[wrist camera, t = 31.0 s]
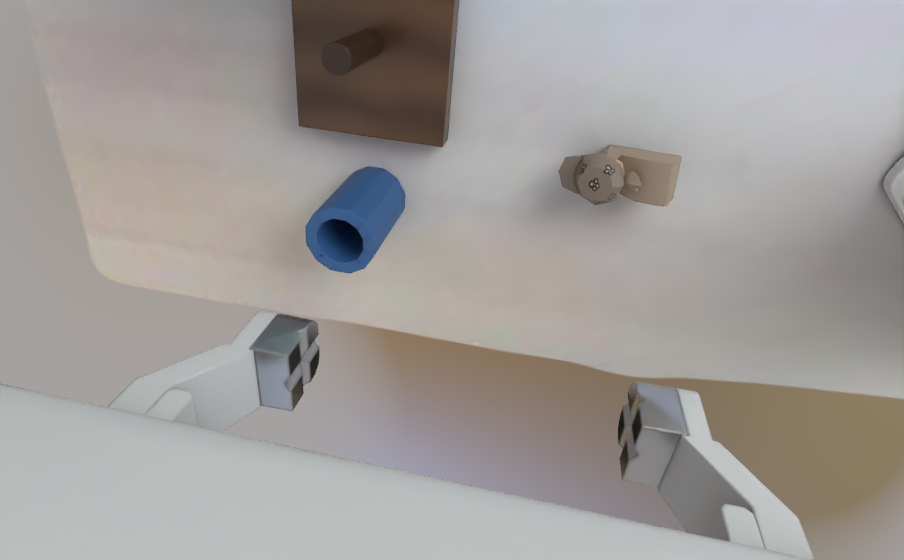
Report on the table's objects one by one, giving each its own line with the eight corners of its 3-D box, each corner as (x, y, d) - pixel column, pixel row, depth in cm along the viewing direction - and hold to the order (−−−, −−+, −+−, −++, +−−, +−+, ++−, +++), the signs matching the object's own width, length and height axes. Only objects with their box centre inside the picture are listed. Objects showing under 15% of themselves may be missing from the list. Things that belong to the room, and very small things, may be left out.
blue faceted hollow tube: (403, 228, 50) (373, 278, 43) (346, 219, 51) (307, 266, 43) (406, 172, 47) (374, 214, 40) (346, 162, 48) (303, 203, 40)
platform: (447, 139, 45) (422, 178, 38) (308, 119, 47) (257, 153, 39) (464, -60, 38) (437, -62, 30) (298, -77, 39) (233, -83, 32)
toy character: (586, 130, 45) (554, 149, 41) (687, 146, 41) (663, 169, 37) (580, 178, 47) (549, 200, 43) (676, 198, 43) (652, 225, 39)
